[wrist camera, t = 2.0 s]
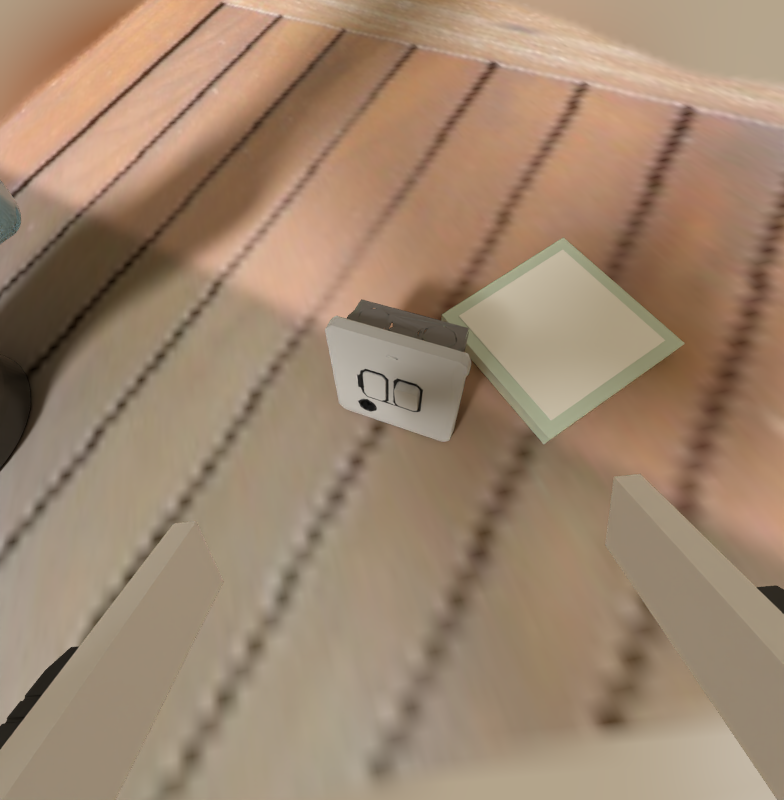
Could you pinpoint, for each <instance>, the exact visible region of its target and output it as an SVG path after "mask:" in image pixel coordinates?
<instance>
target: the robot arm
mask: <svg viewBox="0 0 784 800" xmlns="http://www.w3.org/2000/svg"><path fill="white" fill-rule="evenodd" d="M20 224H21V214H20V210H19V208H18V205H17V203H16V202H15V200H14V198H13V196H12V195H11V193H10V192H9V191H8V189H7V188H6V187H5V185H4V184H3V183H2V181H1V180H0V244H1V243H3V242H4V241H6V240H7V239H9V238H10V237H11V236H13V235H14V234H15V233H16V232H17V230H18V229H19V227H20ZM30 403H31V393H30V386H29V382H28V379H27V377H26V375H25V373H24V371H23V370H22V368H21V367H20V366H19V365H18V364H17V363H16V362H14V361H13V360H11V359H10V358H7V357H5V356H3V355H1V354H0V467H1V466H2V465H3V464H4V462H5V461H6V460H7V459H8V457H9V456H10V454H11V453H12V451H13V450H14V448H15V446H16V445H17V443H18V441H19V439H20V437H21V435H22V433H23V430H24V428H25V425H26V422H27V419H28V415H29V410H30ZM605 545H606V547H607V548H608V550H609V551H610V553H611V554H612V556H613V557H614V559H615V560H616V562H617V563H618V565H619V566H620V568H621V569H622V571H623V572H624V574H625V575H626V577H627V578H628V580H629V581H630V582H631V584H632V585H633V587H634V588H635V590H636V591H637V593H638V594H639V596H640V597H641V599H642V600H643V602H644V603H645V605H646V606H647V608H648V609H649V611H650V612H651V614H652V615H653V617H654V618H655V619H656V621H657V622H658V624H659V625H660V627H661V628H662V630H663V631H664V633H665V634H666V636H667V637H668V639H669V640H670V642H671V643H672V645H673V646H674V648H675V649H676V651H677V652H678V654H679V655H680V657H681V658H682V659H683V661H684V662H685V664H686V665H687V667H688V668H689V670H690V671H691V673H692V674H693V676H694V677H695V679H696V680H697V682H698V683H699V685H700V686H701V688H702V689H703V691H704V692H705V694H706V695H707V696H708V698H709V699H710V701H711V702H712V704H713V705H714V707H715V708H716V710H717V711H718V713H719V714H720V716H721V717H722V719H723V720H724V722H725V723H726V725H727V726H728V728H729V729H730V731H731V732H732V733H733V735H734V736H735V738H736V739H737V741H738V742H739V744H740V745H741V747H742V748H743V750H744V751H745V753H746V754H747V756H748V757H749V759H750V760H751V761H752V763H753V764H754V766H755V768H756V769H757V770H758V772H759V773H760V775H761V776H762V778H763V779H764V781H765V782H766V784H767V785H768V787H769V788H770V790H771V791H772V793H773V794H774V796H775V797H776V798H777V800H784V590H783V589H782V588H780V587H778V586H766V587H755V586H754V585H753V584H752V583H751V582H750V581H749V580H748V579H747V578H746V577H745V576H744V575H743V574H742V573H741V572H740V571H739V570H738V569H737V568H736V567H735V566H734V565H733V564H732V563H731V562H730V561H729V560H728V559H727V558H726V557H725V556H724V555H723V554H722V553H721V552H720V551H719V550H718V549H717V548H715V547H714V546H713V545H712V544H711V543H710V542H709V541H708V540H707V539H706V538H705V537H704V536H703V535H702V534H701V533H700V532H699V531H698V530H697V529H696V528H695V527H694V526H693V525H692V524H691V523H690V522H689V521H688V520H687V519H686V518H685V517H684V516H683V515H682V514H681V513H680V512H679V511H678V510H677V509H676V508H675V507H674V506H673V505H672V504H670V503H669V502H668V501H667V500H666V499H665V498H664V497H663V496H662V495H661V494H660V493H659V492H658V491H657V490H656V489H655V488H654V487H653V486H652V485H651V484H650V483H649V482H648V481H647V480H646V479H645V478H644V477H643V476H642V475H641V474H635V475H625V476H616V477H614V480H613V488H612V496H611V504H610V512H609V520H608V528H607V536H606V544H605ZM223 582H224V581H223V579H222V577H221V575H220V572H219V570H218V568H217V566H216V564H215V561H214V559H213V557H212V555H211V553H210V550H209V548H208V546H207V544H206V541H205V539H204V537H203V535H202V533H201V530H200V528H199V526H198V524H197V522H196V521H193V522H183V523H174V524H173V525H172V526H171V528H170V529H169V530H168V532H167V533H166V534H165V536H164V537H163V538H162V539H161V541H160V542H159V543H158V545H157V546H156V547H155V549H154V550H153V551H152V552H151V554H150V555H149V556H148V558H147V559H146V560H145V562H144V563H143V564H142V566H141V567H140V568H139V569H138V571H137V572H136V573H135V575H134V576H133V577H132V579H131V580H130V581H129V582H128V584H127V585H126V586H125V588H124V589H123V590H122V592H121V593H120V594H119V595H118V597H117V598H116V599H115V601H114V602H113V603H112V605H111V606H110V607H109V609H108V610H107V611H106V612H105V614H104V615H103V616H102V618H101V619H100V620H99V622H98V623H97V624H96V625H95V627H94V628H93V629H92V631H91V632H90V633H89V635H88V636H87V637H86V639H85V640H84V641H83V642H82V644H81V645H80V646H79V647H71V648H70V649H68V650H67V651H66V652H65V653H64V654H63V655H62V656H61V657H60V658H58V659H57V660H56V661H55V662H54V663H53V664H52V665H51V666H49V667H48V668H47V669H46V670H45V671H44V673H43V674H42V675H41V676H40V678H39V679H38V680H37V681H36V683H35V684H34V685H33V686H32V688H31V689H30V690H29V691H28V693H27V694H26V695H25V699H24V700H23V701H20V702H19V704H18V705H17V706H16V707H15V709H14V710H13V711H12V712H11V714H10V715H9V716H8V717H7V721H6V723H5V724H2V725H1V726H0V800H116V798H117V796H118V794H119V792H120V790H121V788H122V786H123V784H124V782H125V780H126V778H127V776H128V774H129V772H130V770H131V768H132V766H133V764H134V762H135V760H136V758H137V755H138V753H139V751H140V749H141V747H142V745H143V743H144V741H145V739H146V737H147V735H148V733H149V731H150V729H151V727H152V725H153V723H154V721H155V719H156V717H157V715H158V713H159V711H160V709H161V707H162V705H163V703H164V701H165V699H166V697H167V695H168V693H169V691H170V689H171V687H172V685H173V683H174V681H175V679H176V677H177V675H178V673H179V671H180V669H181V667H182V665H183V663H184V661H185V659H186V657H187V655H188V652H189V650H190V648H191V646H192V644H193V642H194V640H195V638H196V636H197V634H198V632H199V630H200V628H201V626H202V624H203V622H204V620H205V618H206V616H207V614H208V612H209V610H210V608H211V606H212V604H213V602H214V600H215V598H216V596H217V594H218V592H219V590H220V588H221V586H222V584H223Z"/></svg>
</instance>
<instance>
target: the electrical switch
mask: <svg viewBox="0 0 784 800" xmlns="http://www.w3.org/2000/svg"><path fill="white" fill-rule="evenodd" d="M372 308H376V309H372ZM391 323H393V327H392V328H390V329H389V327H390V325H391ZM444 326H445V327H444ZM383 328H385V329H383ZM426 329H427V330H426ZM425 330H426V331H425ZM468 330H469V328H467V327H463V326H459V325H455V324H452V323H448V322H444V321H440V320H437V319H433V318H429V317H425V316H422V315H418V314H414V313H410V312H407V311H403V310H399V309H395V308H392V307H388V306H384V305H380V304H377V303H373V302H369V301H365V300H362V299H361V301H360V302H359V304H358V305H357V307H356V308H355V310H354V311H353V312H352V313H351V314H350V315H348V317H347V319H346V318H342V317H339V316H335V317H333V318H332V319H331V320H330V322H329V324H328V326H327V327H326V329H325V332H326V337H327V342H328V347H329V353H330V358H331V363H332V368H333V373H334V379H335V384H336V389H337V394H338V399H339V404H341V405H342V406H343V407H344V408H345V409H347V410H350V411H353V412H356V413H359V414H362V415H365V416H367V417H370V418H373V419H376V420H379V421H382V422H385V423H388V424H391V425H394V426H397V427H400V428H403V429H406V430H409V431H412V432H415V433H418V434H421V435H424V436H427V437H430V438H433V439H435V440H438V441H442V442H445V441H449V440H450V438H451V435H452V433H453V431H454V428H455V422H456V418H457V414H458V410H459V406H460V401H461V397H462V393H463V388H464V384H465V380H466V376H468V375H469V372H470V368H471V360H470V357H469V354H468V353H465V348H466V343H467V339H468V334H469V332H468ZM419 331H420V332H419ZM424 331H425V332H424ZM418 332H419V335H418V334H417V333H418ZM467 332H468V334H467ZM455 335H456V337H455ZM466 335H467V337H466ZM465 338H466V339H465ZM423 340H424V341H423Z"/></svg>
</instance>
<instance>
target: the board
mask: <svg viewBox="0 0 784 800" xmlns="http://www.w3.org/2000/svg"><path fill="white" fill-rule="evenodd" d="M441 321H444V322H448V323H452V324H455V325H459V326H463V327H467V328H469V330H468V332H469V334H468V332H467V334H468V339H467V343H466V348H465V353H468V354H469V357H470V358H471V360H472V361H473V362H474V363H475V364H476V366H477V367H478V368H479V369H480V370H481V371H482V373H483V374H484V375H485V376H486V377H487V378H488V380H489V381H490V382H491V383H492V384H493V385H494V387H495V388H496V389H497V390H498V391H499V392H500V394H501V395H502V396H503V397H504V398H505V400H506V401H507V402H508V403H509V404H510V405H511V407H512V408H513V409H514V410H515V411H516V412H517V414H518V415H519V416H520V417H521V418H522V419H523V421H524V422H525V423H526V424H527V425H528V426H529V428H530V429H531V430H532V431H533V432H534V434H535V435H536V436H537V437H538V438H539V439H540V441H541V442H542V443H543V444H545V443H546V442H548V441H549V440H551V439H552V438H554V437H555V436H556V435H558V434H559V433H561V432H562V431H563V430H565V429H566V428H568V427H569V426H570V425H572V424H573V423H575V422H576V421H577V420H579V419H580V418H582V417H583V416H585V415H586V414H587V413H589V412H590V411H592V410H593V409H594V408H596V407H597V406H599V405H600V404H601V403H603V402H604V401H606V400H607V399H608V398H610V397H611V396H613V395H614V394H616V393H617V392H618V391H620V390H621V389H623V388H624V387H625V386H627V385H628V384H630V383H631V382H632V381H634V380H635V379H637V378H638V377H639V376H641V375H642V374H644V373H645V372H647V371H648V370H649V369H651V368H652V367H654V366H655V365H656V364H658V363H659V362H661V361H662V360H663V359H665V358H666V357H668V356H669V355H670V354H672V353H673V352H675V351H676V350H677V349H678V348H680V347H681V346H682V345H684V344H685V343H684V342H683V341H682V340H681V339H679V338H678V337H677V336H676V335H675V334H674V333H672V332H671V331H670V330H669V329H668V328H667V327H666V326H664V325H663V324H662V323H661V322H660V321H659V320H658V319H656V318H655V317H654V316H653V315H652V314H651V313H650V312H648V311H647V310H646V309H645V308H644V307H643V306H641V305H640V304H639V303H638V302H637V301H636V300H635V299H633V298H632V297H631V296H630V295H629V294H628V293H627V292H625V291H624V290H623V289H622V288H621V287H620V286H619V285H617V284H616V283H615V282H614V281H613V280H612V279H610V278H609V277H608V276H607V275H606V274H605V273H604V272H602V271H601V270H600V269H599V268H598V267H597V266H596V265H594V264H593V263H592V262H591V261H590V260H589V259H587V258H586V257H585V256H584V255H583V254H582V253H581V252H579V251H578V250H577V249H576V248H575V247H574V246H573V245H571V244H570V243H569V242H568V241H567V240H566V239H565V238H562V239H560V240H558V241H557V242H555V243H554V244H552V245H551V246H549V247H547V248H546V249H544V250H543V251H541V252H539V253H538V254H536V255H535V256H533V257H532V258H530V259H528V260H527V261H525V262H524V263H522V264H521V265H519V266H517V267H516V268H514V269H513V270H511V271H509V272H508V273H506V274H505V275H503V276H502V277H500V278H498V279H497V280H495V281H494V282H492V283H491V284H489V285H487V286H486V287H484V288H483V289H481V290H480V291H478V292H476V293H475V294H473V295H472V296H470V297H468V298H467V299H465V300H464V301H462V302H461V303H459V304H457V305H456V306H454V307H453V308H451V309H450V310H448V311H446V312H445V313H443V314H442V318H441ZM444 327H445V326H444ZM455 337H456V335H455ZM466 337H467V335H466ZM465 339H466V338H465Z"/></svg>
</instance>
